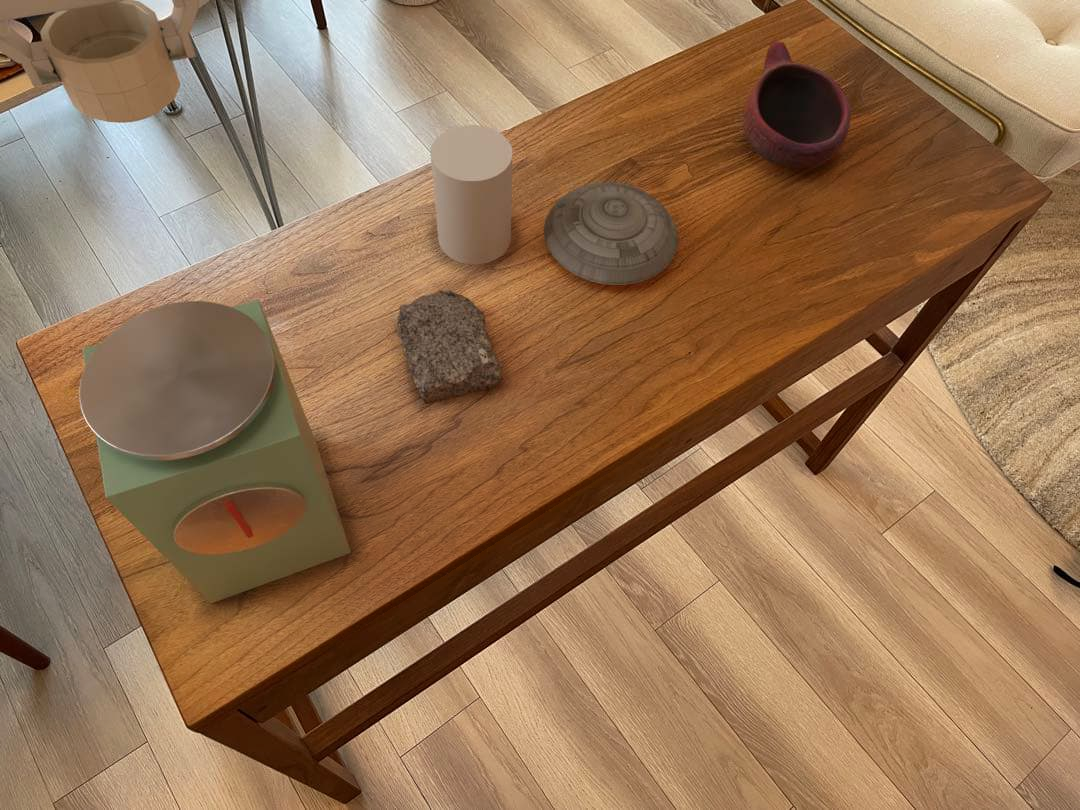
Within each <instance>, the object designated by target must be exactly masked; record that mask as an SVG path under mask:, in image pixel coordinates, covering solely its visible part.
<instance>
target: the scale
mask: <svg viewBox="0 0 1080 810" xmlns="http://www.w3.org/2000/svg"><path fill="white" fill-rule="evenodd" d="M261 303H262V302H260V299H256V300H252V301H248V302H245V303H241V304H238V305H234V306H229V305H226V304H222V303H217V302H214V301H203V300H186V301H179V302H178V301H177V302H173V303H172V302H171V303H168V304H163V305H159V306H156V307H154V308H150V309H147V310H146V311H144V312H141V313H139V314H137V315H135V316H133V317H131V318H129V319H128V320H126V321H125V322H123V323H122V324H120V325H119V326H117V327H116V328H115V329H114V330H113V331H111V332H110V333H108V334H107V336H106V337H105V338H104V339H103V340H102V341H100V343H96V344H93V345H89V346H87V347H86V346H85V347H83V348H82V349H81V350H82V355H83V361H84V369H83V371H82V374H81V377H80V382H79V389H78V399H79V400H78V401H79V406H80V410H81V411H80V412H81V414H82V417H83V419H84V421H85V423H86V425H87V426H88V427H89V429H90V430H91V431H92V432H93V433H94V435H95V437H96V444H97V450H98V457H99V463H100V469H101V476H102V481H103V483H102V484H103V490H104V494H105V499H106V500H107V501H109V502H110V503H111V504H112V505H113V506H114V507H115V508H116V510H118V511H119V512H120V514H122V515H123V516H124V517H125V518H126V520H128V521H129V523H131V524H132V526H133V527H135V529H136V530H137V531H139V533H140V534H141V535H143V537H144V538H145V539H147V541H148V542H149V543H150V544H151V545H152V546H153V547H154V548H155V549H156V550H157V551H158V552H159V553H160V554H161V555H163V557H164V558H165V559H166V560H167V561H168V563H170V564H171V565H172V566H173V567H174V568H175V569H176V570H177V571H178V572H179V573H180V574H181V575H182V577H184V578H185V579H186V580H187V581H188V582H189V583H190V584H191V585H192V586H193V587H194V588H195V589H196V590H197V592H199V593H200V594H201V596H203V597H204V598H205V599H206V600H207V601H208V602H209V603H210V604H214V603H216V602H219V601H222V600H224V599H228V598H230V597H233V596H236V595H238V594H241V593H244V592H247V591H249V590H253V589H255V588H259V587H261V586H263V585H267V584H268V583H272V582H274V581H275V582H276V581H278V580H280V579H283V578H285V577H288V576H291V575H294V574H297V573H299V572H302V571H305V570H308V569H310V568H313V567H316V566H320V565H322V564H325V563H328V562H330V561H332V560H335V559H338V558H341V557H343V556H346V555H348V554H351V553H352V552H351V548H350V545H349V542H348V539H347V535H346V532H345V529H344V525H343V523H342V520H341V515H340V513H339V510H338V506H337V503H336V500H335V497H334V494H333V491H332V487H331V485H330V482H329V478H328V475H327V472H326V469H325V465H324V463H323V460H322V457H321V453H320V450H319V446H318V443H317V439H316V438H315V436H314V433H313V430H312V428H311V426H310V423H309V420H308V419H307V418H308V417H307V415H306V413H305V411H304V408H303V406H302V403H301V400H300V398H299V396H298V392H297V391H296V388H295V385H294V383H293V381H292V378H291V376H290V373H289V371H288V368H287V366H286V364H285V361H284V359H283V356H282V353H281V351H280V348H279V345H278V344H277V341H276V338H275V336H274V333H273V331H272V329H271V326H270V323H269V321H268V319H267V316H266V313H265V311H264V309H263V306H262V304H261Z"/></svg>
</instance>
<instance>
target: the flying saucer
mask: <svg viewBox="0 0 1080 810" xmlns="http://www.w3.org/2000/svg"><path fill="white" fill-rule="evenodd" d="M678 232H679V231H678V228H677V225H676V222H675V221H674V218H673V217H672V215H671V213H670V212H669V211H668V209H667V208H666V207H665V206H664V205H663V203H661V202H660V201H659V200H658V199H657V198H655V197H654V196H653V195H652V194H650V193H648V192H647V191H644V190H642V189H640V188H638V187H636V186H633V185H630V184H626V183H621V182H612V181H605V182H603V181H602V182H594V183H589V184H585V185H583V186H580V187H578V188H575V189H573V190H571V191H569V192H567V193H566V194H565V195H563V196H562V197H561V198H559V199H558V200H557V201H556V202H555V203H554V205H552V207H551V208H550V209H549V211H548V213H547V215H546V217H545V220H544V226H543V236H544V241H545V244H546V246H547V249H548V251H549V252H550V254H551V255H552V257H553V258H554V259H555V261H556V262H557V263H558V264H559V265H560V266H562V267H563V268H564V269H565V270H567V271H568V272H570V273H571V274H573V275H575V276H577V277H579V278H580V279H584V280H586V281H589V282H591V283H595V284H600V285H608V286H626V285H627V286H628V285H633V284H637V283H642V282H644V281H647V280H649V279H651V278H654V277H655V276H657V275H658V274H661V273H662V272H663V271H664V270H665V269H666V268H667V267H668V266H669V265H670V264H671V262H672V261H673V259H674V258H675V256H676V254H677V252H678V251H677V250H678V246H679V233H678Z"/></svg>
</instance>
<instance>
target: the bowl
mask: <svg viewBox="0 0 1080 810" xmlns="http://www.w3.org/2000/svg"><path fill="white" fill-rule="evenodd" d="M851 119H852V110H851V105H850V102H849V99H848V98H847V96H846V93H845V91H844V90H843V89H842V86H840V84H839V83H838V82H836V81H835V80H834V79H833V78H832V77H830V75H828V74H826V73H825V72H823V71H822V70H820V69H817V68H815V67H812V66H810V65H808V64H804V63H799V62H798V63H797V62H793V60H792V58H791V54H790V52H789V50H788V48H787V46H786V44H785V43H784V42H782V41H777V40H776V41H773V42H771V44H770V45H769V47H768V49H767V51H766V55H765V59H764V64H763V70H762V74H761V75H760V76H759V77H758V78H757V80H756V82H755V83H754V85H753V86H752V88H751V90H750V93H749V95H748V98H747V99H746V102H745V106H744V111H743V114H742V127H743V131H744V134H745V137H746V139H747V141H748V143H749V144H750V146H751V147H752V149H753V150H754V151H755V152H756V153H757V154H758V155H760V156H761V157H762V158H763V159H765V160H766V161H767V162H770V163H772V164H774V165H778V166H781V167H786V168H790V169H791V168H792V169H807V168H813V167H816V166H819V165H821V164H824V163H825V162H827V161H828V160H830V159H831V158H833V157H834V156H835V155H836V154H837V153H838V152H839V151H840V149H842V147H843V146H844V144H845V142H846V139H847V137H848V135H849V131H850V130H849V129H850V125H851Z"/></svg>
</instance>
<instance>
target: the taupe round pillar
mask: <svg viewBox="0 0 1080 810" xmlns="http://www.w3.org/2000/svg"><path fill="white" fill-rule="evenodd" d="M513 152H514V151H513V147H512V145H511V143H510V141H509V140H508V138H507V137H506V136H504V134H502V133H501V132H499V131H498V130H495V129H494V128H491V127H488V126H484V125H479V124H464V125H458V126H455V127H451V128H448V129H447V130H445V131H443V132H442V133H440V134H439V135H438V136H437V137H436V138H435V139H434V141H433V142H432V144H431V147H430V164H431V173H432V186H433V198H434V207H435V217H436V218H435V221H436V229H437V230H436V231H437V241H438V245H439V248H440V249H441V251H442V252H443V253H444V254H445V255H446V256H447V257H449V259H452V260H453V261H455V262H457V263H461V264H464V265H471V266H473V265H474V266H475V265H477V266H478V265H484V264H488V263H491V262H494V261H496V260H497V259H499V258H500V257H502V256H503V255H504V254H505V253H506V252H507V250H508V249H509V247H510V244H511V241H512V203H513V202H512V199H513V197H512V195H513V156H514V155H513Z"/></svg>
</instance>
